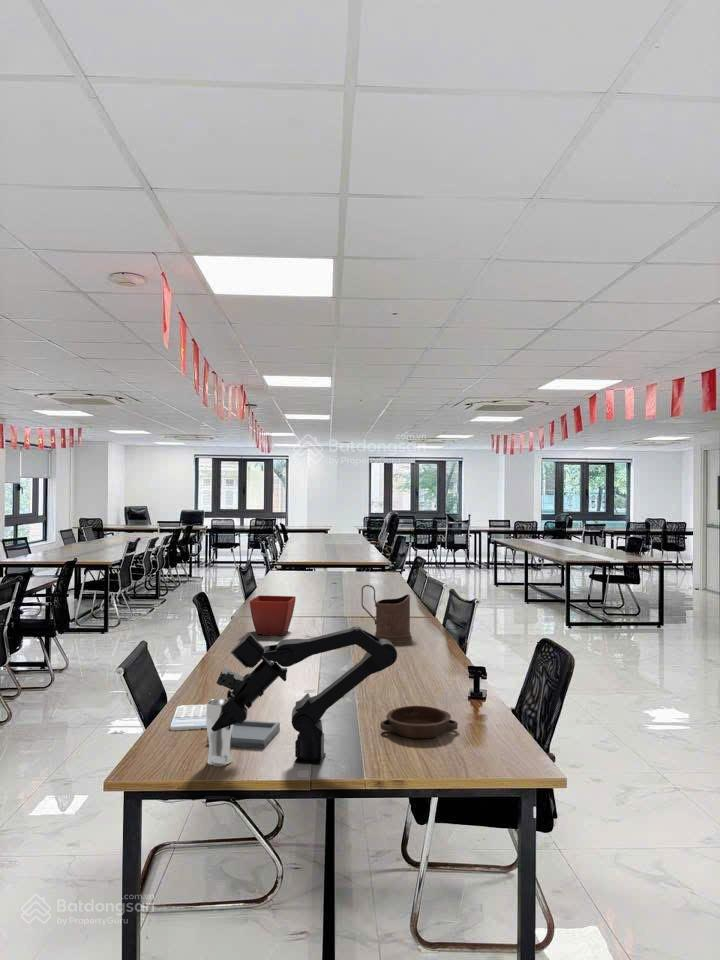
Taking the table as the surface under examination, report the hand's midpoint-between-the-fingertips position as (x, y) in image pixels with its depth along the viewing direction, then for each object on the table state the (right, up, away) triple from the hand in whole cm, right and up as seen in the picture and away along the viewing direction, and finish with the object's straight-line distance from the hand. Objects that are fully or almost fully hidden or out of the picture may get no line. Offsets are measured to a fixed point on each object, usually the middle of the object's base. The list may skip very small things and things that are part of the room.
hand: (214, 725), depth 174 cm
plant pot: (-6, -13, +161) cm, 161 cm away
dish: (+53, -10, +23) cm, 59 cm away
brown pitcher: (+49, -13, +150) cm, 158 cm away
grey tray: (+5, -9, +18) cm, 21 cm away
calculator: (-12, -11, +34) cm, 37 cm away
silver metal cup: (+1, -9, 0) cm, 9 cm away
